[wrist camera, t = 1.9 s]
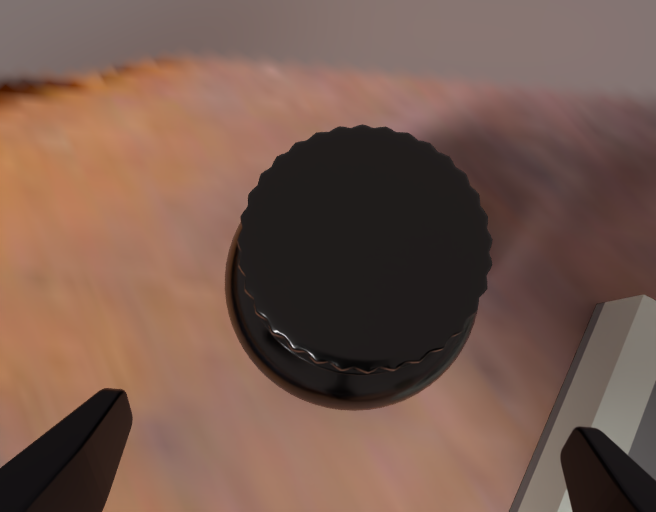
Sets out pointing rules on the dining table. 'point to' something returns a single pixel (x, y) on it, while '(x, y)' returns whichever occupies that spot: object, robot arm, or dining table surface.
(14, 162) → the dining table surface
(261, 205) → the supplement bottle
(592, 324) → the tray
